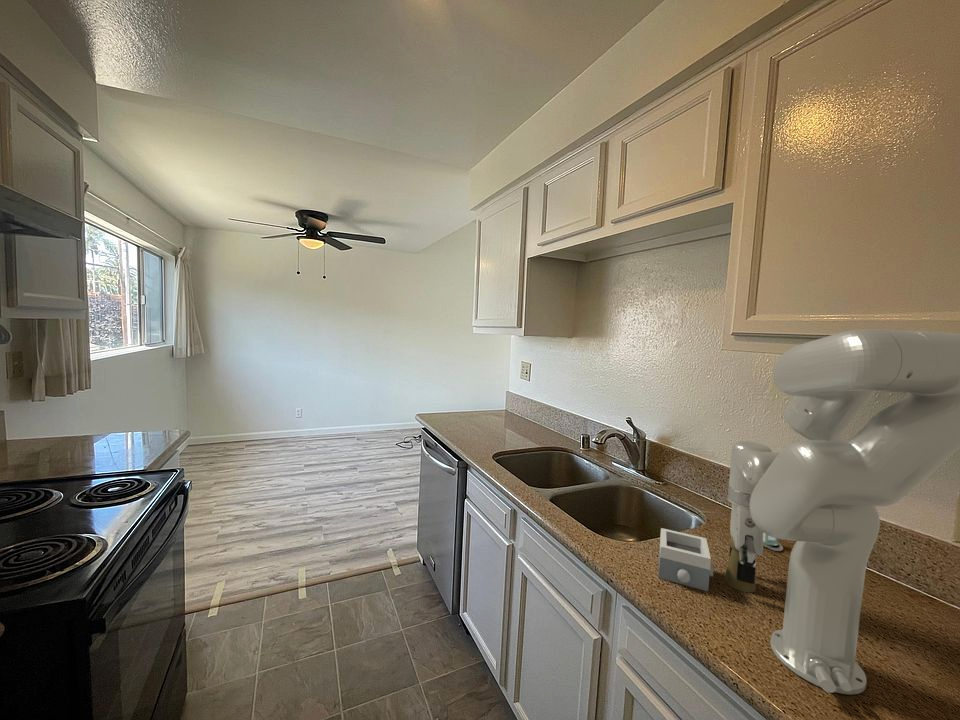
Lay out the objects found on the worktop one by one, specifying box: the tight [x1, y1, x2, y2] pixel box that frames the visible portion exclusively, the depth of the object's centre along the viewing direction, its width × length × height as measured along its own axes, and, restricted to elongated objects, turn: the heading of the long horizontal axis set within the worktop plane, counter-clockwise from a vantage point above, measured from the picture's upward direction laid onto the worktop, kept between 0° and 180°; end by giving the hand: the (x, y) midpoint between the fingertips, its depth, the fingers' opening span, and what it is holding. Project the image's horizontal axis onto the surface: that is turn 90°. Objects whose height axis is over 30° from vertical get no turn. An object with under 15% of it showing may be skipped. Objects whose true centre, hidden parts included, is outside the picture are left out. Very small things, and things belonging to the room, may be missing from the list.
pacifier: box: [763, 532, 784, 552], centre depth 106 cm, size 7×6×6 cm
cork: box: [724, 537, 757, 593], centre depth 88 cm, size 6×6×11 cm
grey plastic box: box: [658, 527, 714, 592], centre depth 91 cm, size 11×11×8 cm
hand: (740, 569), depth 89 cm, fingers open, 9 cm apart
